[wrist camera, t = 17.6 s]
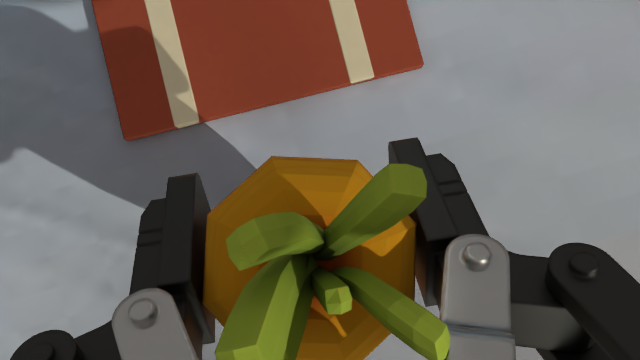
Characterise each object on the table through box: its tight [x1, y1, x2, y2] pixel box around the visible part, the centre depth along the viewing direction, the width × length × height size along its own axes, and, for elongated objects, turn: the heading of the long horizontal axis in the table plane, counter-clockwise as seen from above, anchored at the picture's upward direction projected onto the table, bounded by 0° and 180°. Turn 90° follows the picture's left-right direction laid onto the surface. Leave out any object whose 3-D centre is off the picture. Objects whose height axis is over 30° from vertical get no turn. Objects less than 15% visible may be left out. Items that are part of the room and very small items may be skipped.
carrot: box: [202, 156, 450, 360], centre depth 15 cm, size 5×5×15 cm
